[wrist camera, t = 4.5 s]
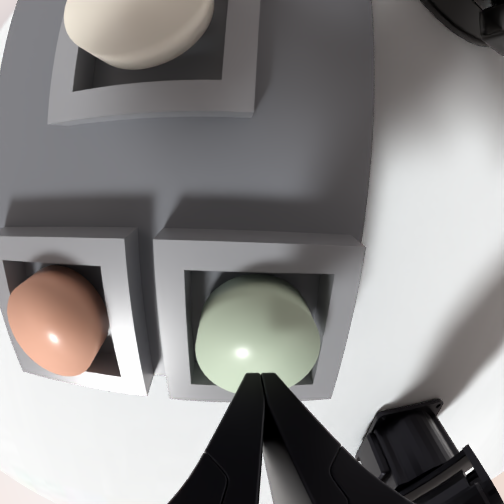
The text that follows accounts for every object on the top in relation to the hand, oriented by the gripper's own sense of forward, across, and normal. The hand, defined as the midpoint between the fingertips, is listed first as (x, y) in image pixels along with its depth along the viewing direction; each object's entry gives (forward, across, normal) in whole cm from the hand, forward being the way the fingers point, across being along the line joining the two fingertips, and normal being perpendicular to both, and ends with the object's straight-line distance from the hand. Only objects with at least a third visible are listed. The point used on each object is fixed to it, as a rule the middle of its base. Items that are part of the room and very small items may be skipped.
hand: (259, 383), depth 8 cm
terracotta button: (+3, +8, 0) cm, 9 cm away
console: (+7, +4, -6) cm, 10 cm away
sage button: (+3, 0, 0) cm, 3 cm away
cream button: (+2, +4, -11) cm, 12 cm away
